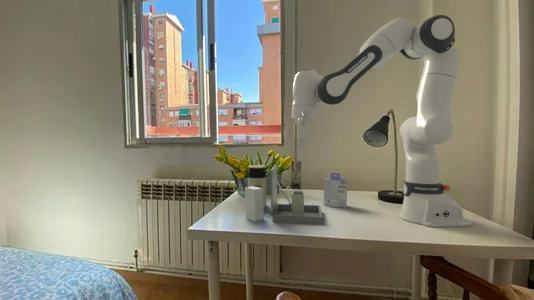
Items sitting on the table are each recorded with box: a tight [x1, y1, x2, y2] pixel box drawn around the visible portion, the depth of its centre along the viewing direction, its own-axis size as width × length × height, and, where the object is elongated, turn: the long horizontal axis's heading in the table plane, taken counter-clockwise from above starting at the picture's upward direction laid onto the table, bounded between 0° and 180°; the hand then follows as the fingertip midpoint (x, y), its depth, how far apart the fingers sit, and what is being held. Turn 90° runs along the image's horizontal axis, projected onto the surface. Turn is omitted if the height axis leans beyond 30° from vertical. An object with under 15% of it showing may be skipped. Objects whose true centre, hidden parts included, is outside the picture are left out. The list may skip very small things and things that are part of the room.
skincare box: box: [244, 186, 265, 222], centre depth 101 cm, size 6×4×12 cm
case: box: [270, 164, 324, 225], centre depth 104 cm, size 18×17×19 cm
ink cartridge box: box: [323, 172, 348, 209], centre depth 121 cm, size 10×6×14 cm, turn 75°
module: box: [291, 190, 305, 216], centre depth 104 cm, size 4×4×10 cm
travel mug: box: [247, 164, 267, 208], centre depth 119 cm, size 8×8×18 cm
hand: (302, 151), depth 103 cm, fingers open, 8 cm apart
